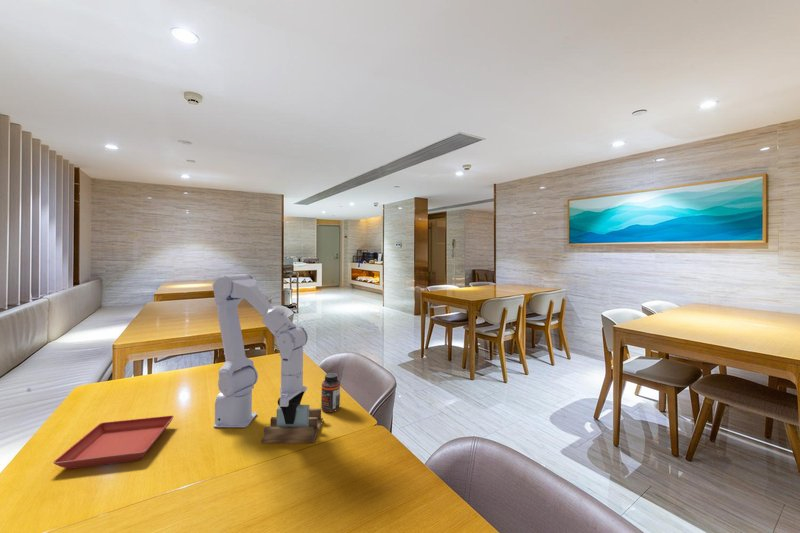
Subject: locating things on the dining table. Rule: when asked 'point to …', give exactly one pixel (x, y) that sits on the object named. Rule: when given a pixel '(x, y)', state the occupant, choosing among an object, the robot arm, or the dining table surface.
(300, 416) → the grey-green rectangular block
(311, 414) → the rack
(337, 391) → the supplement bottle
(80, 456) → the plant saucer
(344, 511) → the dining table surface
